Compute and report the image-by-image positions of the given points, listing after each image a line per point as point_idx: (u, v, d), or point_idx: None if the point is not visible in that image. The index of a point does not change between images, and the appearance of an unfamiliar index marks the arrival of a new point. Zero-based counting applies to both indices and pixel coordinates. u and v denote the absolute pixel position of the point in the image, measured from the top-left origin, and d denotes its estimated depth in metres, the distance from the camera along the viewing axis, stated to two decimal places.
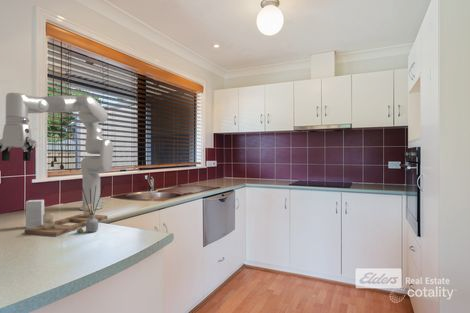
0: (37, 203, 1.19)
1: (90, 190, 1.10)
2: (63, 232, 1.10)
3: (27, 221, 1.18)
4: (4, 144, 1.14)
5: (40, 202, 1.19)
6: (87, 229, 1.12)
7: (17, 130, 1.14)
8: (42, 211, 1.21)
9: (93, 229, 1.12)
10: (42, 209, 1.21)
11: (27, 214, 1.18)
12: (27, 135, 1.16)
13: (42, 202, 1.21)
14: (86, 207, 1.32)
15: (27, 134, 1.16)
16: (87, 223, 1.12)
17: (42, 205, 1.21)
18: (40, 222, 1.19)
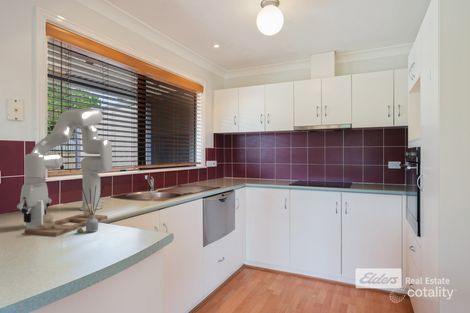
0: None
1: (90, 190, 1.10)
2: (63, 232, 1.10)
3: None
4: (31, 204, 1.16)
5: (40, 202, 1.19)
6: (87, 229, 1.12)
7: (44, 189, 1.22)
8: (42, 211, 1.21)
9: (93, 229, 1.12)
10: (42, 209, 1.21)
11: None
12: None
13: (42, 202, 1.21)
14: (86, 207, 1.32)
15: None
16: (87, 223, 1.12)
17: (42, 205, 1.21)
18: (40, 222, 1.19)
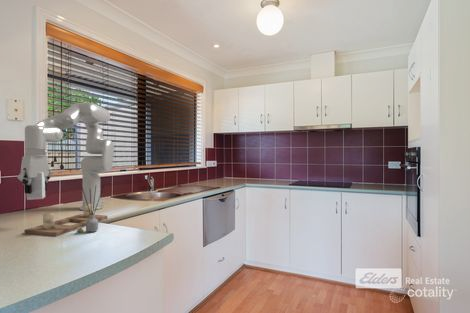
0: (37, 175, 1.19)
1: (90, 191, 1.10)
2: (63, 232, 1.10)
3: None
4: (31, 175, 1.16)
5: (40, 174, 1.19)
6: (87, 229, 1.12)
7: (45, 161, 1.22)
8: (43, 184, 1.21)
9: (93, 229, 1.12)
10: (43, 181, 1.21)
11: None
12: None
13: (42, 174, 1.21)
14: (86, 207, 1.32)
15: None
16: (87, 223, 1.12)
17: (42, 177, 1.21)
18: (41, 194, 1.19)
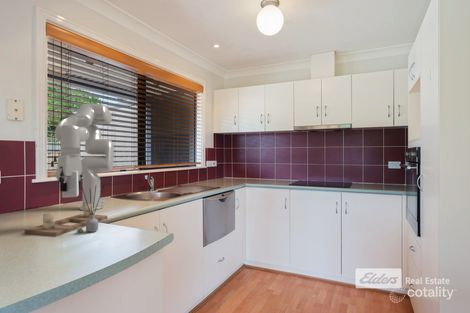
0: None
1: (90, 191, 1.10)
2: (63, 232, 1.10)
3: None
4: (67, 174, 1.19)
5: (75, 172, 1.22)
6: (87, 229, 1.12)
7: (79, 160, 1.25)
8: (77, 182, 1.24)
9: (93, 229, 1.12)
10: (77, 179, 1.24)
11: None
12: None
13: (77, 173, 1.24)
14: (86, 207, 1.32)
15: None
16: (87, 223, 1.12)
17: (77, 175, 1.24)
18: (75, 192, 1.22)
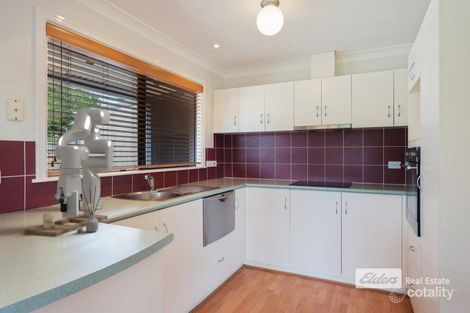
0: (72, 194, 1.22)
1: (90, 191, 1.10)
2: (63, 232, 1.10)
3: None
4: (67, 195, 1.19)
5: (75, 192, 1.22)
6: (87, 229, 1.12)
7: (79, 180, 1.25)
8: (77, 202, 1.24)
9: (93, 229, 1.12)
10: (77, 199, 1.24)
11: None
12: None
13: (77, 193, 1.24)
14: (86, 207, 1.32)
15: None
16: (87, 223, 1.12)
17: (77, 195, 1.24)
18: (75, 212, 1.22)
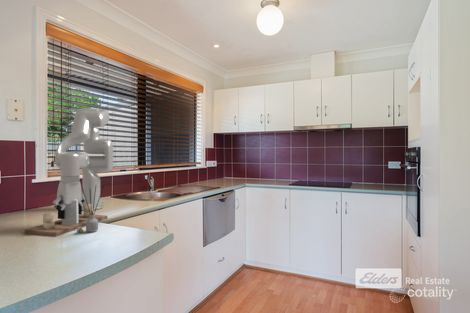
0: None
1: (90, 191, 1.10)
2: (63, 232, 1.10)
3: (63, 219, 1.21)
4: (67, 202, 1.19)
5: (75, 201, 1.22)
6: (87, 229, 1.12)
7: (78, 187, 1.25)
8: (77, 210, 1.24)
9: (93, 229, 1.12)
10: (77, 208, 1.24)
11: None
12: None
13: (77, 201, 1.24)
14: (86, 207, 1.32)
15: None
16: (87, 223, 1.12)
17: (77, 204, 1.24)
18: (75, 220, 1.22)
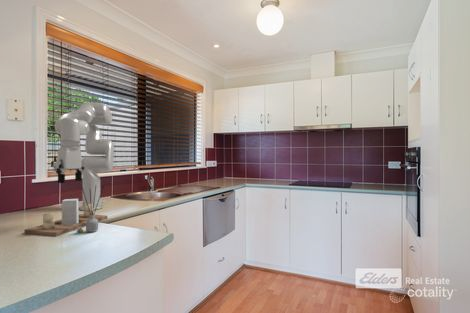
0: (72, 202, 1.22)
1: (90, 191, 1.10)
2: (63, 232, 1.10)
3: (63, 219, 1.21)
4: (67, 167, 1.19)
5: (75, 201, 1.22)
6: (87, 229, 1.12)
7: (78, 153, 1.25)
8: (77, 210, 1.24)
9: (93, 229, 1.12)
10: (77, 208, 1.24)
11: (63, 213, 1.21)
12: None
13: (77, 201, 1.24)
14: (86, 207, 1.32)
15: None
16: (87, 223, 1.12)
17: (77, 204, 1.24)
18: (75, 221, 1.22)
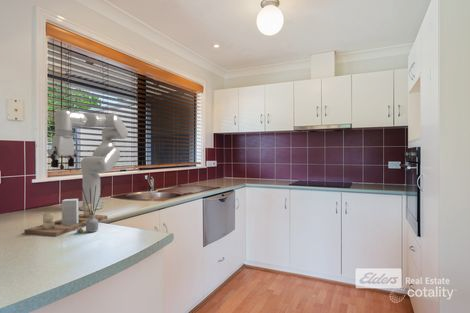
0: (72, 202, 1.22)
1: (90, 191, 1.10)
2: (63, 232, 1.10)
3: (63, 219, 1.21)
4: (61, 153, 1.34)
5: (75, 201, 1.22)
6: (87, 229, 1.12)
7: (71, 142, 1.40)
8: (77, 210, 1.24)
9: (93, 229, 1.12)
10: (77, 208, 1.24)
11: (63, 213, 1.21)
12: None
13: (77, 201, 1.24)
14: (86, 207, 1.32)
15: None
16: (87, 223, 1.12)
17: (77, 204, 1.24)
18: (75, 220, 1.22)
